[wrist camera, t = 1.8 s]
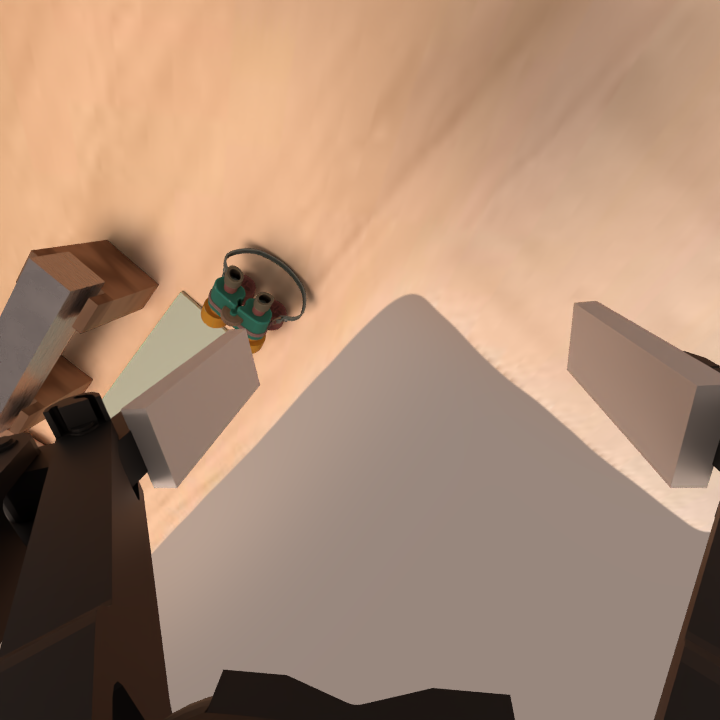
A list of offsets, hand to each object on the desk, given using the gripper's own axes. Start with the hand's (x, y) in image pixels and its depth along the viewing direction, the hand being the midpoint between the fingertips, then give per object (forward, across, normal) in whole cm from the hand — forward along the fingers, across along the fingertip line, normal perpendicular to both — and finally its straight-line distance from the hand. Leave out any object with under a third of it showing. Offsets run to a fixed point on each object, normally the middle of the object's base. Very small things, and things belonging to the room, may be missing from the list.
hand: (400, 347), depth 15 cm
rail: (+18, -39, -4) cm, 43 cm away
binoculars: (+25, -16, -2) cm, 30 cm away
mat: (+25, -32, -13) cm, 43 cm away
